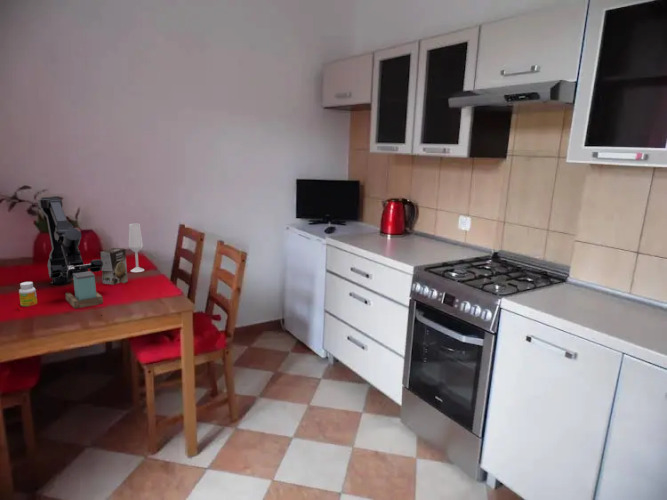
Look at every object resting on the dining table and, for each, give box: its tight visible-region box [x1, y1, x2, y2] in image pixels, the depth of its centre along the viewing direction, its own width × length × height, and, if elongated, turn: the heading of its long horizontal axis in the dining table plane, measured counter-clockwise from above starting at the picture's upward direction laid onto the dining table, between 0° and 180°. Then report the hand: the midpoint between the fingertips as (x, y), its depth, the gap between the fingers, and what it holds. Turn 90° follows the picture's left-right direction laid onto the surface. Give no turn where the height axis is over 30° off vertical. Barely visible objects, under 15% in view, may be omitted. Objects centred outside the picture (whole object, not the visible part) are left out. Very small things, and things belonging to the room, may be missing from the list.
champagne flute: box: [128, 222, 145, 273], centre depth 221 cm, size 7×7×24 cm
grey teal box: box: [72, 270, 97, 301], centre depth 172 cm, size 6×6×12 cm
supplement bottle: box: [18, 281, 38, 307], centre depth 170 cm, size 5×5×10 cm
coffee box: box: [100, 247, 129, 285], centre depth 200 cm, size 9×6×16 cm
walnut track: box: [64, 291, 104, 310], centre depth 175 cm, size 13×11×4 cm
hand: (82, 286), depth 175 cm, fingers closed, pressing on grey teal box
